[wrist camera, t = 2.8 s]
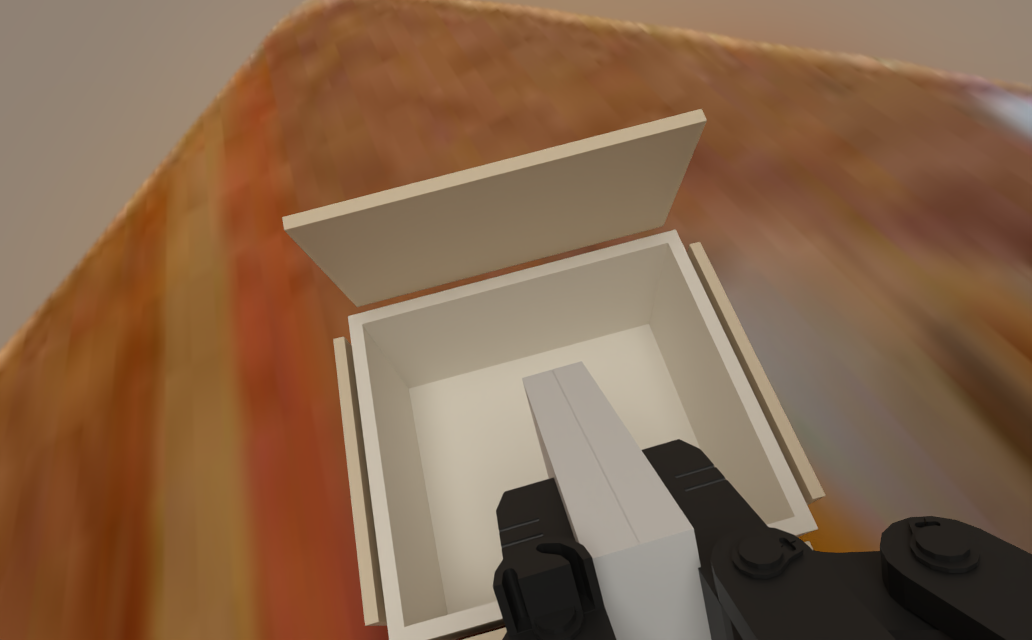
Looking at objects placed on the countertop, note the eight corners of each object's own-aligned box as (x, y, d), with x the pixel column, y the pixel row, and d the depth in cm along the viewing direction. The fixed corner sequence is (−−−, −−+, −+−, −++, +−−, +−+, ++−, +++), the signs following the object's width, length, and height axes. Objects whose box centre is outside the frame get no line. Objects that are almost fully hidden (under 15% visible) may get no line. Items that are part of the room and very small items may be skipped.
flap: (659, 217, 28) (701, 108, 20) (663, 226, 28) (706, 120, 20) (355, 297, 28) (282, 217, 20) (357, 307, 27) (284, 230, 20)
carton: (666, 313, 36) (691, 225, 28) (775, 567, 29) (850, 545, 21) (387, 389, 35) (331, 320, 27) (429, 665, 28) (371, 682, 20)
